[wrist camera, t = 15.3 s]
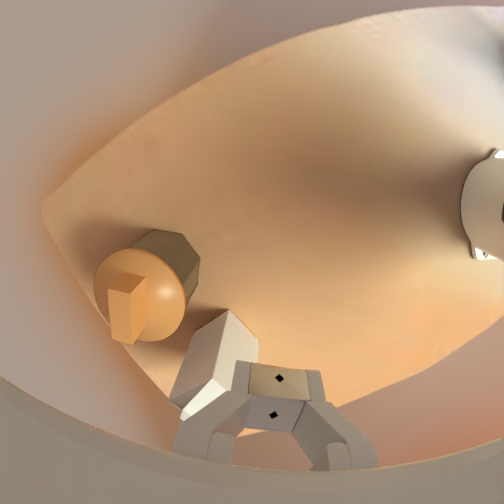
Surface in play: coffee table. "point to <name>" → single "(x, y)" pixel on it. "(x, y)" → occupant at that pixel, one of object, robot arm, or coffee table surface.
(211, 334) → the milk carton
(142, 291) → the orange cap
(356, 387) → the coffee table surface
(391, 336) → the coffee table surface
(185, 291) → the graphite tube
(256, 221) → the coffee table surface
